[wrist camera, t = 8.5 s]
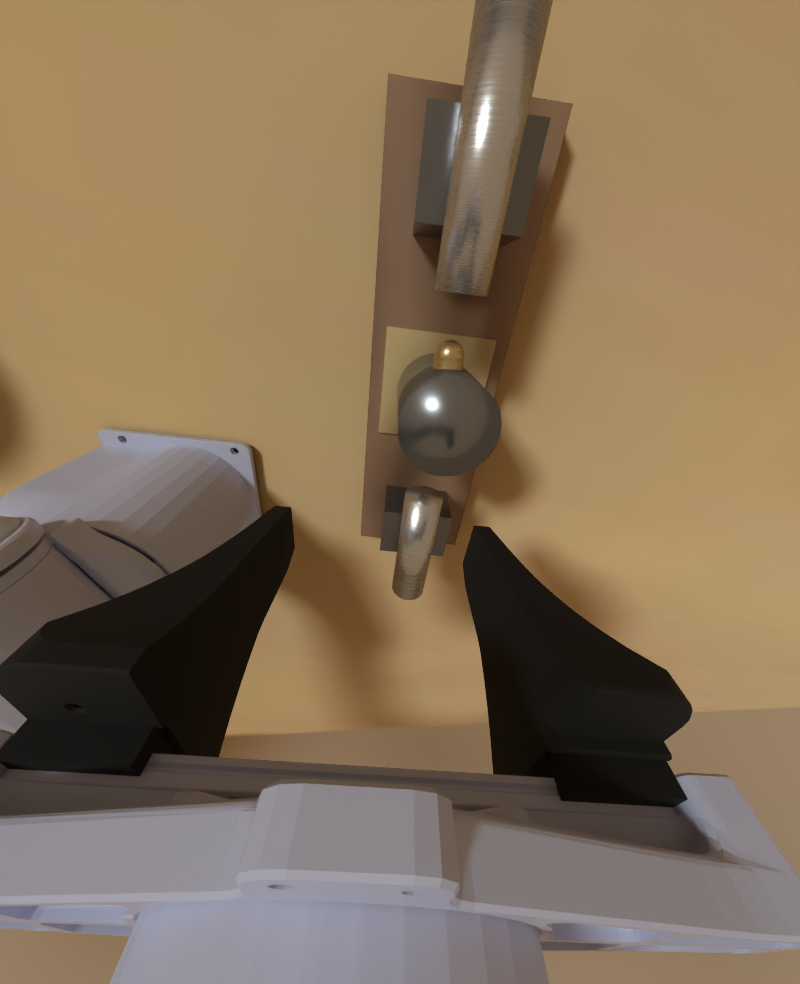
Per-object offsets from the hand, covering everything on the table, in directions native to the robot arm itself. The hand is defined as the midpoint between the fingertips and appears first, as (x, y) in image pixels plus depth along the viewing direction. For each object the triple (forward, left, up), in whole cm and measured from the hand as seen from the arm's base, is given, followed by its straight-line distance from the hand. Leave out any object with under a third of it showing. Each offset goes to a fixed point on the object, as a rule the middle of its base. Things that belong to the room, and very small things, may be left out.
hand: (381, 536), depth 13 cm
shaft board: (+2, +4, -9) cm, 10 cm away
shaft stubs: (+2, +4, -8) cm, 9 cm away
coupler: (+2, +4, -8) cm, 9 cm away
